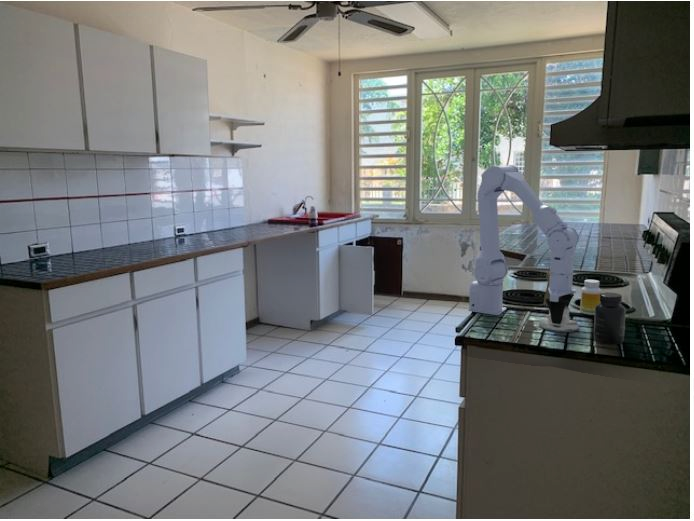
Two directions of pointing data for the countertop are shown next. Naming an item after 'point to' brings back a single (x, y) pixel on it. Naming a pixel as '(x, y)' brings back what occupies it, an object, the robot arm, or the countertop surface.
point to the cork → (547, 288)
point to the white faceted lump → (564, 319)
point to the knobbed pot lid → (569, 327)
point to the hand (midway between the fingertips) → (558, 320)
